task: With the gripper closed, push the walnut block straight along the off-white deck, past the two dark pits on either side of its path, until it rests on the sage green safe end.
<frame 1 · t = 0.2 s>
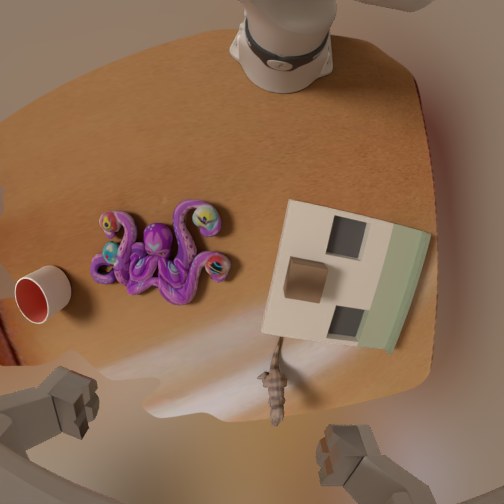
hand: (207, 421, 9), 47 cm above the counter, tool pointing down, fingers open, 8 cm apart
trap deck: (344, 279, 57), on the counter
toy: (271, 366, 62), on the counter
cup: (56, 285, 59), on the counter
walnut block: (303, 275, 55), point 2 cm above the counter, touching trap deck
decorative sculpture: (158, 248, 57), on the counter
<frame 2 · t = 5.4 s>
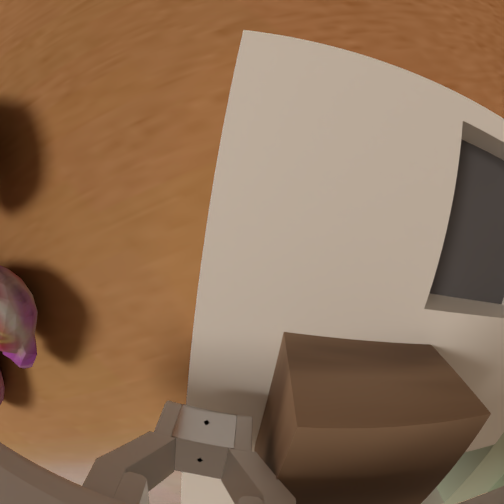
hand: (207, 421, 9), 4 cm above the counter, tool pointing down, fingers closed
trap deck: (450, 374, 13), on the counter
walnut block: (341, 403, 11), point 3 cm above the counter, touching gripper
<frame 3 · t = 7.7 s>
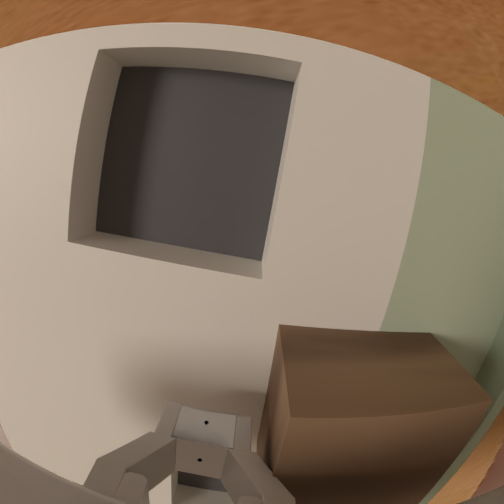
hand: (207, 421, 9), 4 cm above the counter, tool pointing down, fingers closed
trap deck: (209, 349, 13), on the counter
walnut block: (342, 395, 11), point 3 cm above the counter, touching gripper
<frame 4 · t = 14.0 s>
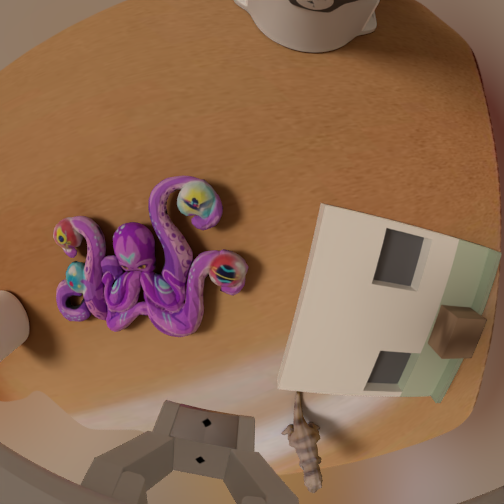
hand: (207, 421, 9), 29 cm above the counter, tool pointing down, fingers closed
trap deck: (390, 314, 39), on the counter
toy: (296, 417, 44), on the counter
cup: (13, 314, 42), on the counter
walnut block: (449, 325, 37), point 2 cm above the counter, touching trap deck
decorative sculpture: (139, 260, 39), on the counter
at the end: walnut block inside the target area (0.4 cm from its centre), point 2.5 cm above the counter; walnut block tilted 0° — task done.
